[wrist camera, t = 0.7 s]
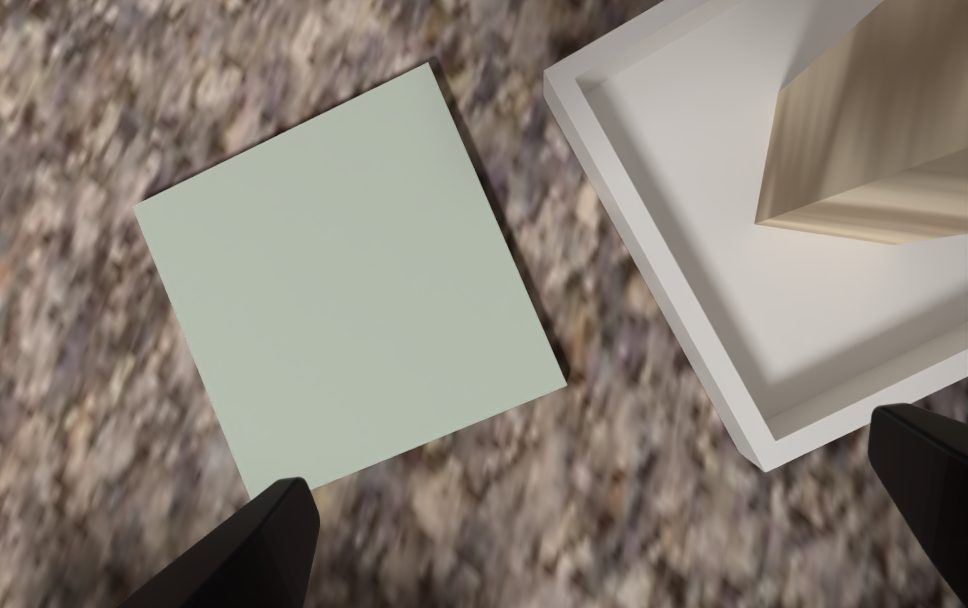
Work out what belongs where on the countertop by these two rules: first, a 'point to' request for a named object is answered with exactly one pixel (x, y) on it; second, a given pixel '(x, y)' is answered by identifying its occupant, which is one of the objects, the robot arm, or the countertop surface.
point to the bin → (753, 225)
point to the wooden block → (876, 131)
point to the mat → (348, 289)
